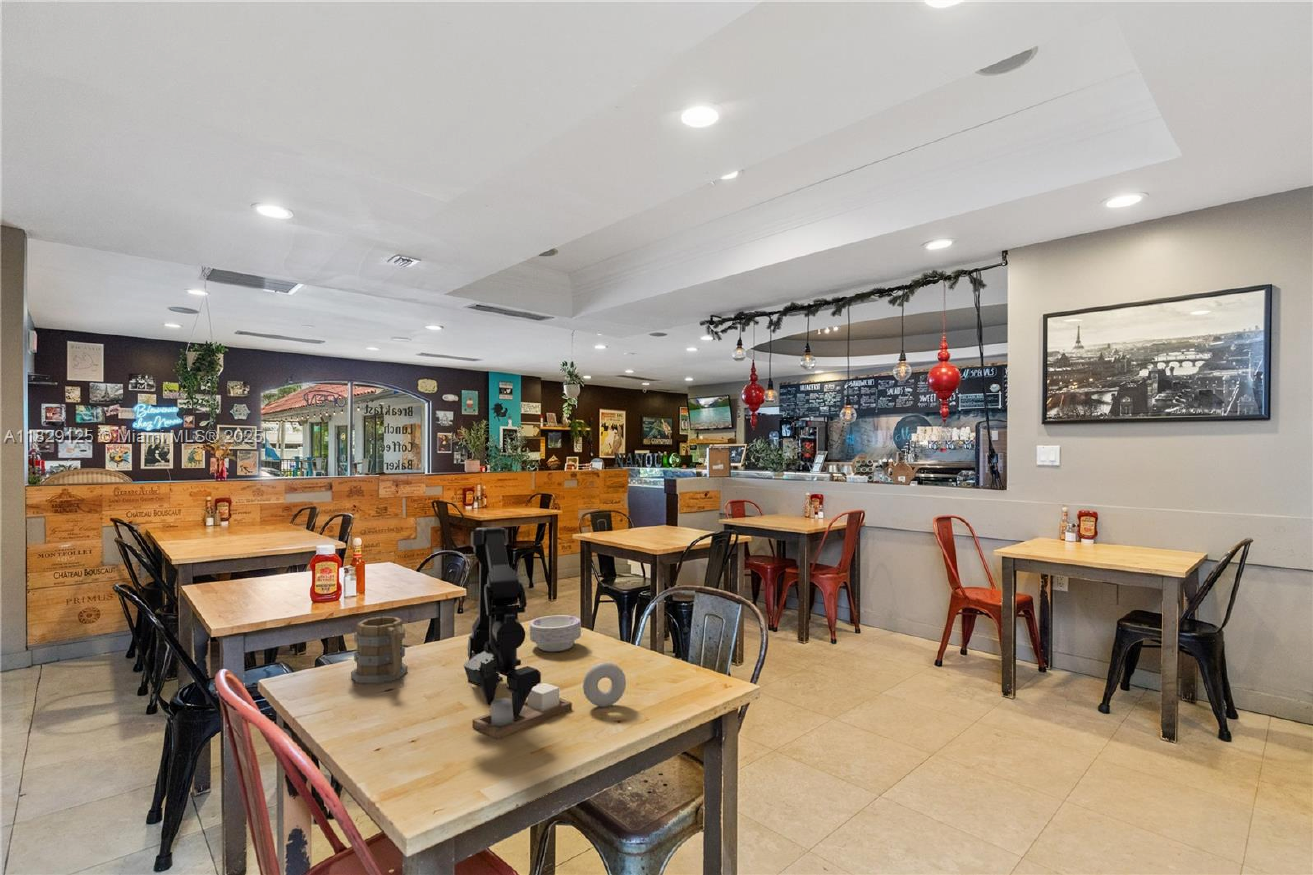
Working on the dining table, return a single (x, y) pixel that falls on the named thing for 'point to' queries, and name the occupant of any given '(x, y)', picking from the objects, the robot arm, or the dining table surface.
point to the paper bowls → (555, 632)
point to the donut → (612, 693)
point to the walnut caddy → (520, 719)
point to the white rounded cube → (543, 697)
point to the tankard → (379, 650)
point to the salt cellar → (502, 712)
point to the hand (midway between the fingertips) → (502, 710)
